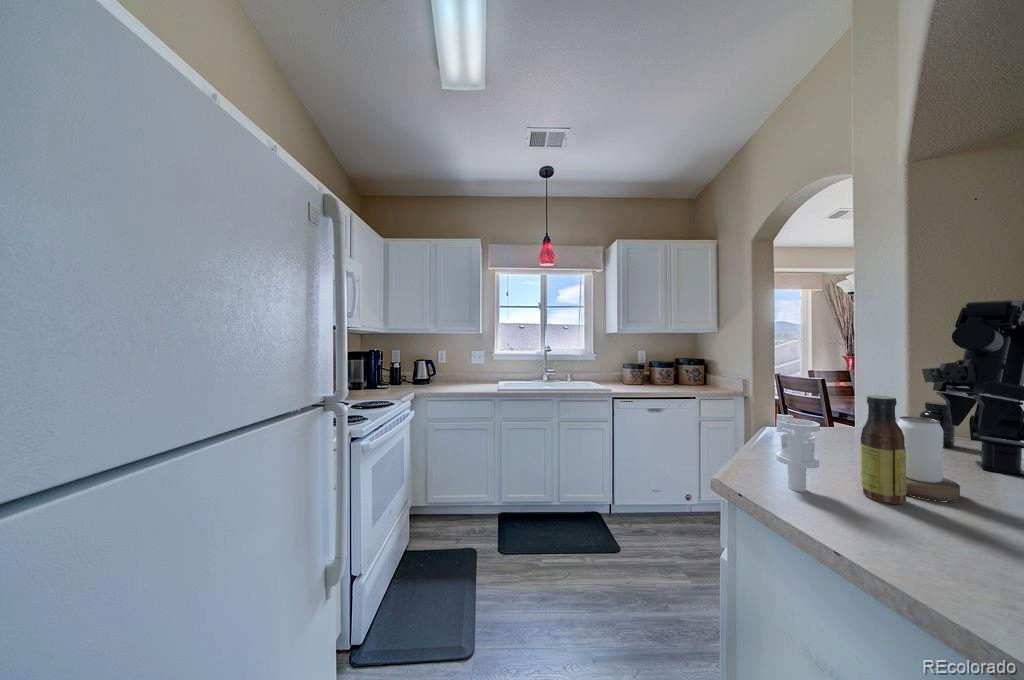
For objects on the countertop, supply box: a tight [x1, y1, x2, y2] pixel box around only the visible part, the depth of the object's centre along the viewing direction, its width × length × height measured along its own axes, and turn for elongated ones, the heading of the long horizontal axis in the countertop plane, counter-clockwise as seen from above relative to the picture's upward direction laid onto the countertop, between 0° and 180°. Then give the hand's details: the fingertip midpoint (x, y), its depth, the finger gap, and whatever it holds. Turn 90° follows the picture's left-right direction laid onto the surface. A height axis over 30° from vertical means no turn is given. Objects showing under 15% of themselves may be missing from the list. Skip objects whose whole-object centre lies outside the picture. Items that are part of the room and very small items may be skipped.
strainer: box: [775, 413, 821, 493], centre depth 77 cm, size 7×7×15 cm
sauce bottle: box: [859, 394, 907, 505], centre depth 72 cm, size 7×6×20 cm
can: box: [896, 415, 944, 483], centre depth 76 cm, size 6×6×12 cm
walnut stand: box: [906, 476, 961, 503], centre depth 76 cm, size 11×11×2 cm
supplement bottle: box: [919, 401, 956, 449], centre depth 107 cm, size 7×7×12 cm
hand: (968, 428), depth 80 cm, fingers open, 9 cm apart
